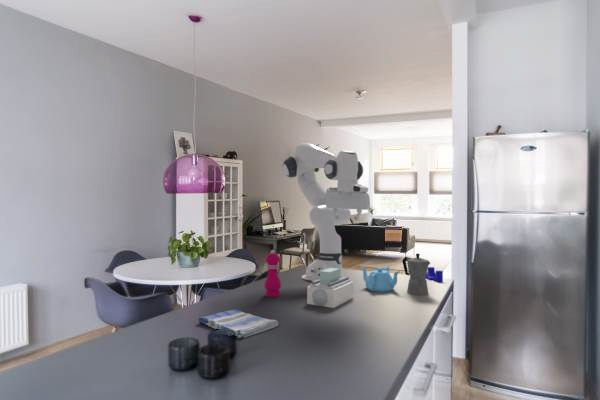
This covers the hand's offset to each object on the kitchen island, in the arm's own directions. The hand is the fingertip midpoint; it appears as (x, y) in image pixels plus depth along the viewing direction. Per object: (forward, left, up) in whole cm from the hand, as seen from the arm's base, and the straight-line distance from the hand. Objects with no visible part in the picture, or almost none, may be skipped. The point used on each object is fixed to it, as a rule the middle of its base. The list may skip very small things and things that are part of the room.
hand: (346, 219), depth 178 cm
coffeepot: (+25, +20, -34) cm, 46 cm away
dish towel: (-14, -56, -34) cm, 67 cm away
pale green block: (-1, -13, -25) cm, 28 cm away
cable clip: (+24, +53, -34) cm, 68 cm away
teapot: (+9, +19, -34) cm, 40 cm away
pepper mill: (-27, -17, -34) cm, 47 cm away
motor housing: (-1, -12, -33) cm, 36 cm away
